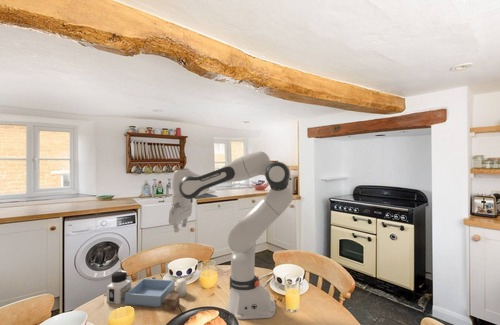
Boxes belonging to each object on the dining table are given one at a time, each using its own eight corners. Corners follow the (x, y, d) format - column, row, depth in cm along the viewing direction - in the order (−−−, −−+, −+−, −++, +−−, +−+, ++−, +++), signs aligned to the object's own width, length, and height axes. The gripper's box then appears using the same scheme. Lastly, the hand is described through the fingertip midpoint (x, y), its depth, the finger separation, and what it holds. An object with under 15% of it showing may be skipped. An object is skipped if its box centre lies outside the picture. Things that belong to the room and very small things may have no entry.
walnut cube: (179, 304, 115) (179, 293, 115) (174, 310, 110) (174, 299, 110) (169, 303, 115) (169, 293, 115) (164, 309, 110) (164, 298, 110)
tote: (174, 289, 127) (174, 280, 128) (160, 307, 112) (160, 296, 112) (143, 287, 129) (143, 278, 130) (124, 304, 114) (124, 293, 114)
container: (120, 304, 114) (120, 276, 114) (106, 302, 116) (106, 275, 116) (131, 295, 122) (131, 269, 122) (118, 293, 123) (118, 268, 123)
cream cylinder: (187, 291, 126) (188, 278, 126) (184, 297, 121) (184, 283, 121) (178, 291, 126) (178, 277, 126) (174, 296, 121) (174, 282, 121)
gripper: (178, 205, 109) (178, 235, 109) (194, 198, 129) (193, 224, 129) (165, 204, 110) (164, 235, 110) (182, 198, 130) (182, 224, 130)
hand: (180, 229), depth 120 cm, fingers open, 8 cm apart
